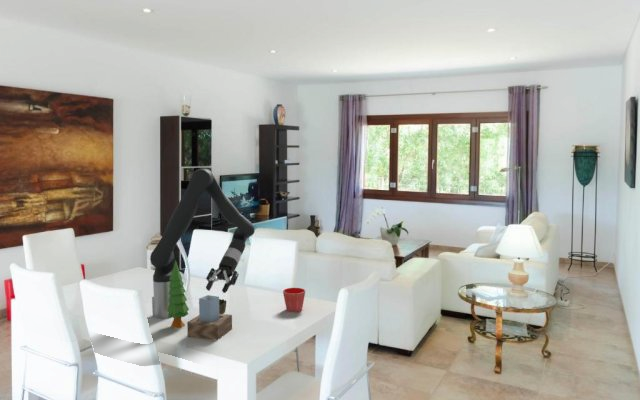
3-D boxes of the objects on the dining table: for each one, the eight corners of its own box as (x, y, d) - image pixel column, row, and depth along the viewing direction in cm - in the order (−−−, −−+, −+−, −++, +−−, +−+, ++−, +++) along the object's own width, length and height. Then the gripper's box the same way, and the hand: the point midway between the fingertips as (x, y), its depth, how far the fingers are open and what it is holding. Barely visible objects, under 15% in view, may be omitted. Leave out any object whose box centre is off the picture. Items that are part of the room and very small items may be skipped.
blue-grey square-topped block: (199, 321, 224) (198, 298, 223) (208, 317, 229) (207, 295, 228) (210, 323, 221) (210, 300, 220) (219, 319, 227) (219, 296, 226)
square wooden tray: (187, 337, 221) (187, 322, 220) (203, 327, 235) (203, 312, 234) (218, 340, 217) (217, 324, 217) (232, 329, 231) (231, 314, 230)
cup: (211, 320, 242) (210, 303, 242) (210, 316, 249) (209, 299, 249) (227, 319, 244) (227, 302, 244) (226, 314, 251) (225, 298, 251)
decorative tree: (181, 321, 242) (179, 257, 239) (193, 325, 236) (192, 259, 233) (163, 326, 234) (160, 260, 232) (175, 331, 228) (173, 263, 226)
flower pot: (302, 313, 253) (302, 293, 252) (280, 312, 255) (280, 292, 254) (307, 307, 263) (307, 288, 262) (286, 305, 265) (286, 287, 265)
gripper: (214, 254, 238) (198, 284, 229) (240, 256, 232) (225, 288, 223) (221, 263, 244) (206, 293, 234) (247, 266, 237) (232, 297, 228)
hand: (215, 290), depth 229 cm, fingers open, 8 cm apart
